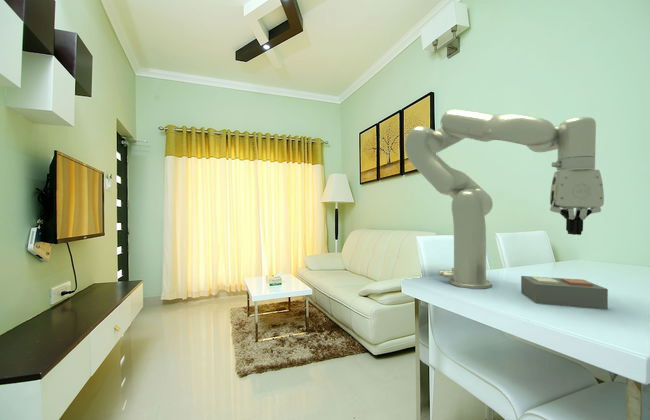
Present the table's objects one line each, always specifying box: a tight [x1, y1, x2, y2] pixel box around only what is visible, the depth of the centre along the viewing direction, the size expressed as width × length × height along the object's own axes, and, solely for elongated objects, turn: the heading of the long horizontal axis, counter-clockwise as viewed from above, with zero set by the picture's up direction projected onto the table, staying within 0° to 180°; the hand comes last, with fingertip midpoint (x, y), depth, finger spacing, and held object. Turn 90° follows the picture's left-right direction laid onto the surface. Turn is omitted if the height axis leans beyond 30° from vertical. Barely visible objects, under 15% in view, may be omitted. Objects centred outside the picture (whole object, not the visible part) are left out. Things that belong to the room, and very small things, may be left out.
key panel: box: [520, 275, 609, 310], centre depth 75 cm, size 15×10×5 cm, turn 73°
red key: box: [560, 277, 592, 286], centre depth 74 cm, size 5×5×3 cm
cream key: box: [532, 276, 559, 284], centre depth 77 cm, size 5×5×3 cm
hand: (574, 234), depth 75 cm, fingers closed
